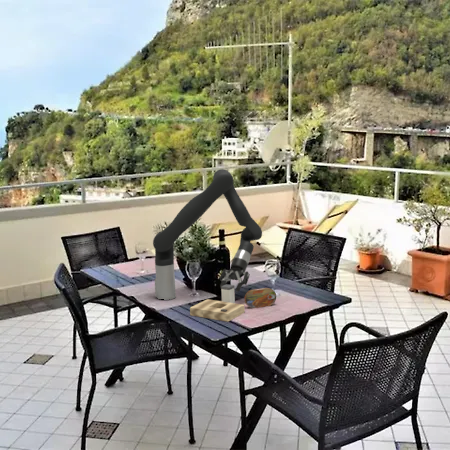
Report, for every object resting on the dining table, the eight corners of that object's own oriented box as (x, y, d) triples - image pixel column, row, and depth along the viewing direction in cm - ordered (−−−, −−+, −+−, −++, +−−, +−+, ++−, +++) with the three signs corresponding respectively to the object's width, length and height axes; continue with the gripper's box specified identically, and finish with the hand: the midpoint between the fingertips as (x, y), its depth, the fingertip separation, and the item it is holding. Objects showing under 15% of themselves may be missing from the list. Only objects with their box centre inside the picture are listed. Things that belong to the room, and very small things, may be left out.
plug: (222, 305, 264) (221, 286, 263) (227, 302, 268) (226, 284, 267) (229, 306, 262) (229, 287, 261) (234, 303, 266) (234, 285, 264)
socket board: (190, 315, 251) (189, 306, 251) (207, 306, 263) (207, 298, 262) (228, 321, 241) (227, 312, 240) (244, 312, 252) (244, 303, 252)
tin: (246, 309, 257) (245, 291, 255) (243, 307, 260) (243, 289, 258) (276, 305, 261) (276, 287, 260) (274, 303, 264) (273, 286, 262)
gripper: (225, 255, 274) (213, 284, 266) (250, 258, 266) (239, 287, 259) (231, 264, 279) (219, 292, 271) (256, 266, 271) (245, 295, 264)
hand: (229, 290), depth 265 cm, fingers open, 8 cm apart
